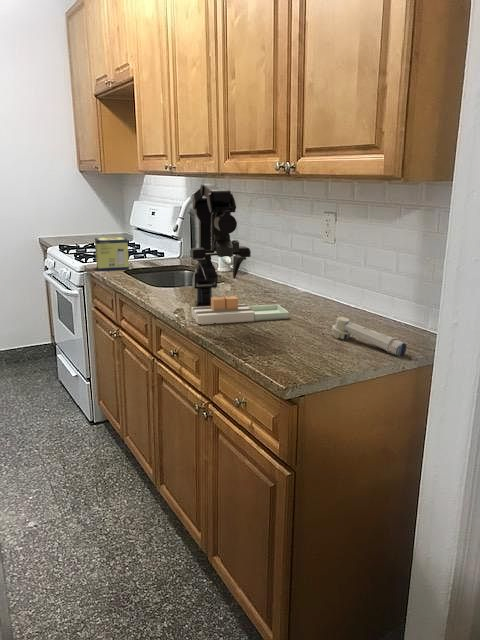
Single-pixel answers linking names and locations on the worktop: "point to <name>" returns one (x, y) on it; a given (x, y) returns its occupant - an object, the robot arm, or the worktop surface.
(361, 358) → the worktop surface
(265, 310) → the tray
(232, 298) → the orange cube
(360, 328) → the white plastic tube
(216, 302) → the orange-brown cube
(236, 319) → the slot board
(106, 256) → the protein box
